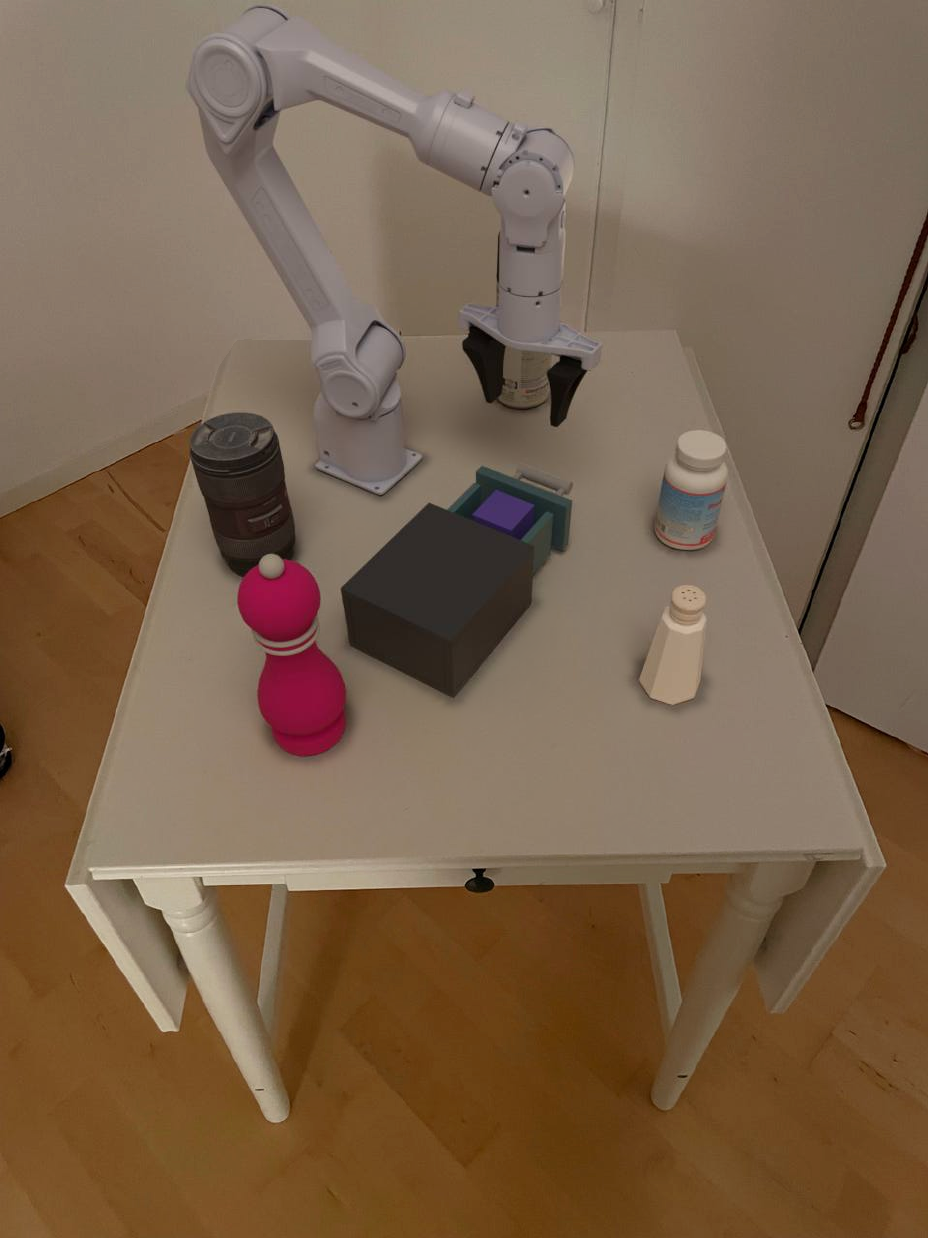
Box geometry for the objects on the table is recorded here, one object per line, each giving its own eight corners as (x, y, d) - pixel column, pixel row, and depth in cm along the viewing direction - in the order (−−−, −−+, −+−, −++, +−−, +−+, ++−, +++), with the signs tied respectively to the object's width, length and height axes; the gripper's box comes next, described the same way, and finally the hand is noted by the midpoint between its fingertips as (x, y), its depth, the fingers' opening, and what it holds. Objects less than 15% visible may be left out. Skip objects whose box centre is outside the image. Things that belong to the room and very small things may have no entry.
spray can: (499, 378, 115) (500, 218, 101) (553, 382, 114) (562, 221, 100) (491, 407, 111) (491, 244, 96) (547, 412, 110) (555, 248, 95)
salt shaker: (635, 658, 83) (651, 571, 75) (695, 659, 83) (718, 572, 75) (641, 705, 80) (659, 619, 72) (704, 706, 79) (729, 620, 71)
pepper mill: (280, 773, 76) (231, 606, 61) (257, 709, 80) (206, 540, 65) (363, 744, 77) (334, 574, 63) (336, 683, 82) (304, 512, 67)
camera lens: (306, 529, 96) (283, 408, 85) (294, 584, 91) (268, 462, 80) (229, 529, 96) (197, 408, 85) (213, 583, 91) (176, 462, 80)
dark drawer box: (432, 560, 93) (429, 502, 87) (531, 604, 88) (534, 545, 83) (349, 645, 85) (340, 588, 79) (453, 698, 81) (451, 641, 75)
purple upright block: (472, 548, 91) (471, 514, 88) (495, 523, 93) (496, 489, 90) (510, 564, 89) (511, 530, 86) (533, 538, 92) (534, 504, 88)
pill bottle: (712, 556, 92) (735, 466, 84) (651, 548, 93) (667, 459, 85) (714, 517, 96) (735, 428, 88) (655, 510, 97) (671, 422, 89)
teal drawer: (504, 486, 99) (504, 442, 95) (589, 519, 95) (594, 475, 91) (413, 579, 89) (410, 535, 85) (504, 621, 86) (505, 577, 81)
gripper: (623, 283, 82) (608, 412, 92) (486, 245, 87) (486, 370, 97) (585, 318, 78) (574, 448, 88) (445, 275, 84) (449, 402, 94)
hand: (525, 409), depth 92 cm, fingers open, 7 cm apart
